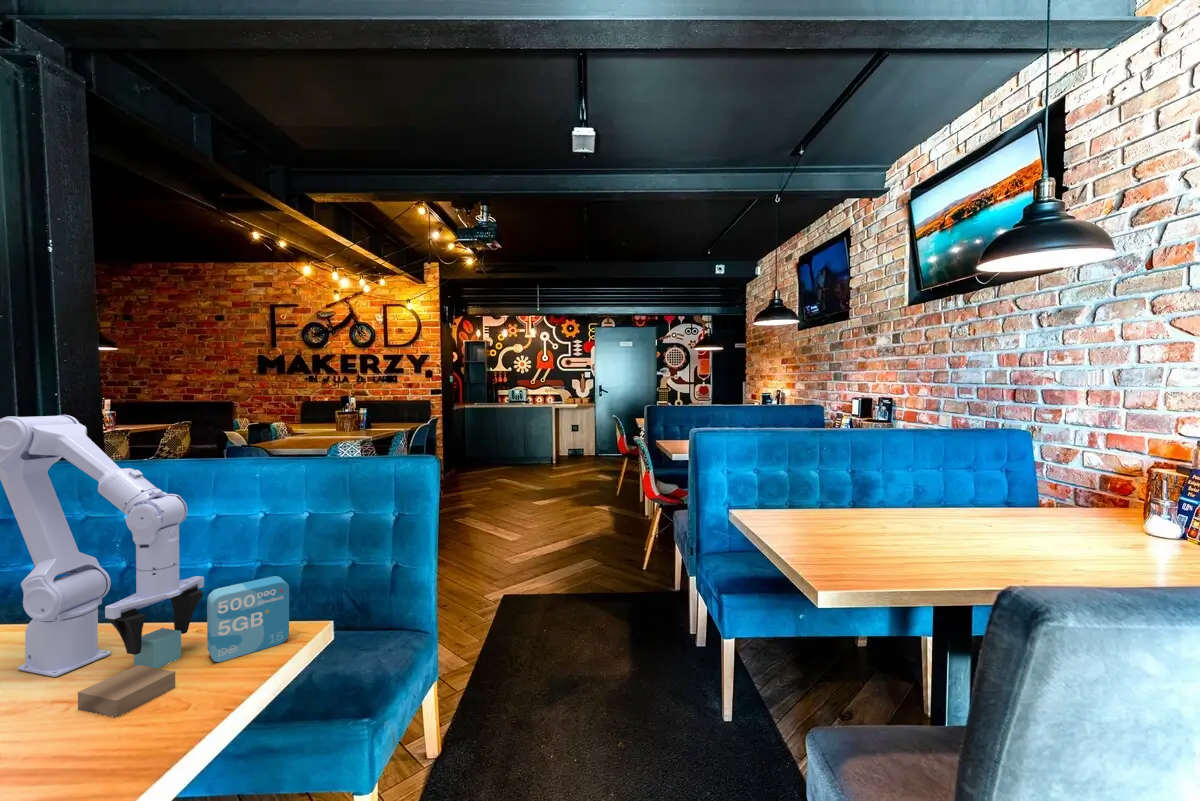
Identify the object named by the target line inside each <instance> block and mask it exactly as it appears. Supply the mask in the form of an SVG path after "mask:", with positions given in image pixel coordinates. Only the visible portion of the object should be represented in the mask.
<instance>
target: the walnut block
mask: <svg viewBox="0 0 1200 801" xmlns="http://www.w3.org/2000/svg"><path fill="white" fill-rule="evenodd" d="M175 688H176V671H174V670H169V669H162V668H153V667H148V666H143V665H137V666H135V667H134V666H133V667H131V668H129V669H126V670H123V671H121V672H120V673H118V674H115V675H113V676H111V677H109V678H106V679H103V680H102V681H100V682H97V683H94V684H92V685H91V686H89V687H86V688H84V689H82V690H80V691H78V692H77V710H78V711H80V712H81V711H82V712H86V713H91V712H92V713H91V714H95V713H97V714H96V715H100V714H101V716H104V715H106V716H105V717H109V716H113V717H118V718H120V717H121V715H122V714H124V715H126V714H128V713H130V712H131V710H132V711H134V710H135V709H137V708H139V707H141V706H143V705H145V704H147V703H149V702H151V701H152V700H155V699H157V698H159V697H160V696H162V695H164V694H166V693H167V692H170V691H172V690H174V689H175ZM127 712H128V713H127ZM125 713H126V714H125ZM107 715H108V716H107ZM119 716H120V717H119ZM122 716H123V715H122ZM113 717H112V718H113Z"/></svg>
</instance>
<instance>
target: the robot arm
mask: <svg viewBox="0 0 1200 801" xmlns="http://www.w3.org/2000/svg"><path fill="white" fill-rule="evenodd" d="M62 458H63V459H65V460H66V461H68V462H69V463H70V464H72V465H74V466H75V467H77V468H78V469H79V470H81V471H83V472H84V473H85V474H87V475H88V476H90V477H91V478H92V479H94V480H96V481H97V482H98V485H97V492H98V493H99V494H100V495H101V496H102V497H103V498H105V499H106V500H107V501H109V502H110V503H111V504H112V505H114V506H115V507H116V508H117V509H119V510H120V511H121V512H122V513H123V514H124V515H126V516H127V517H125V523H126V526H127V528H128V530H129V531H131V534H132V542H133V543H134V544H135V571H136V572H135V573H136V574H135V578H136V579H135V580H136V581H135V582H136V583H135V584H136V586H135V587H136V588H135V591H136V592H135V593H132V594H131V595H129V596H127V597H125V598H123V599H120V600H119V601H115V602H114V603H112V604H108V605H106V606H105V607H104V614H105V615H104V616H105V617H104V618H105V619H107V620H108V621H109V623H110V624H111V625H112V626H113V627H114V628H115V630H116V631H117V632H118V634H119V636H120V638H121V640H122V642H123V644H124V647H125V650H126V654H127V655H128V654H129V655H133V656H134V655H136V654H139V653H140V652H141V646H142V636H143V629H144V624H145V622H146V621H145V620H146V618H147V615H146V614H144V613H143V614H141V613H140V611H138V610H140V609H143V608H145V607H148V606H151V605H153V604H156V603H159V602H162V601H165V600H167V599H170V603H171V607H172V612H173V626H174V627H173V630H179V631H181V635H184V634H187V633H188V631H189V628H190V623H191V621H192V618H193V614H194V612H195V610H196V608H197V606H198V604H199V602H200V601H201V599H202V598H203V597H204V591H203V590H200V589H201V588H204V587H205V576H199V575H196V576H191V577H188V578H185V579H180V524H181V523H184V521H185V520H186V518H187V516H188V506H187V503H186V502H185V500H184V499H183V498H182V497H181V496H180V495H179V494H175V493H167V492H165V491H162V489H160V488H158V487H156V486H155V485H154V484H153V483H152V482H150V481H149V480H148V479H146V477H144V476H143V475H144V474H143V472H141V470H139V469H134V468H130V467H127V468H126V467H125V468H121V467H120V466H118V464H117V463H116V462H114V461H113V460H112V459H111V458H110V456H108V454H106V453H105V452H104V451H103V450H102V449H101V448H100V447H99V446H98V445H97V444H96V443H95V442H94V441H92V439H91V438H90V437H89V436H88V428H87V427H86V425H83V424H82V423H80V422H79V420H78V419H76V417H74V416H71V415H68V414H58V415H46V416H44V415H43V416H41V415H40V416H12V415H11V416H9V415H8V416H5V417H2V418H0V482H1V485H2V486H3V489H4V492H5V494H6V498H7V499H8V502H9V504H10V507H11V509H12V511H13V515H14V517H15V519H16V521H17V525H18V527H19V530H20V532H21V534H22V537H23V539H24V543H25V545H26V546H27V550H28V552H29V556H31V560H32V562H33V564H34V568H33V569H32V571H30V573H29V574H27V576H26V577H25V578H24V579H23V580H22V581H21V582H20V586H21V589H22V592H23V597H22V598H23V599H22V607H23V609H24V611H25V613H26V614H27V616H29V617H30V618H31V620H30V621H29V623H28V625H27V627H26V628H25V633H24V635H25V636H24V637H25V638H24V647H25V648H24V651H25V652H24V656H25V657H24V658H25V659H24V663H23V664H21V665H19V666H18V667H17V670H19V671H22V672H29V673H33V674H39V675H45V676H49V677H55V678H56V677H59V676H61V675H64V674H67V673H69V672H71V671H74V670H76V669H78V668H80V667H83V666H85V665H88V664H90V663H93V662H96V661H97V660H100V659H103V658H106V657H107V656H109V655H111V654H112V651H110V650H105V649H101V648H100V649H99V646H98V644H99V639H98V638H99V637H98V636H99V633H98V632H99V630H98V629H99V618H98V617H99V607H98V606H99V605H102V603H103V601H102V600H103V598H104V597H105V596H107V595H108V593H109V591H110V589H111V585H112V582H111V577H110V575H109V573H108V572H107V571H106V570H105V569H104V568H103V567H102V566H101V565H100V563H99V561H98V559H97V557H95V556H92V555H88V554H86V553H83V552H80V551H79V548H78V546H77V543H76V540H75V538H74V536H73V533H72V531H71V529H70V528H71V527H70V526H69V524H68V521H67V519H66V518H67V517H66V516H65V513H64V510H63V507H62V506H61V503H60V499H59V497H58V496H57V493H56V491H55V488H54V486H53V484H52V480H51V479H50V476H49V474H48V471H49V470H50V468H51V467H52V466H53V465H54V464H55V463H57V462H59V461H60V459H62ZM64 574H65V575H64ZM61 575H63V576H61ZM57 576H60V577H57ZM56 577H57V578H56Z"/></svg>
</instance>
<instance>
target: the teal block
mask: <svg viewBox="0 0 1200 801" xmlns="http://www.w3.org/2000/svg"><path fill="white" fill-rule="evenodd" d="M179 658H181V659H182V634H181V631H179V630H175V629H171V628H166V627H165V628H164V627H161V628H159V629H157V630H154V631H152V632H149V633H146V634H144V635H142V646H141V652H140V653H139V654H136V655H133V667H135V666H137V665H143V666H148V667H153V668H159V669H162V668H163V667H162V666H164V667H165V665H166V666H167V664H168V663H170V662H172V663H174V662H176V661H178V660H180V659H179ZM177 659H178V660H177ZM175 660H176V661H175ZM173 661H174V662H173ZM170 664H171V663H170ZM168 665H169V664H168ZM161 667H162V668H161Z"/></svg>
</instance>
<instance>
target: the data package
mask: <svg viewBox="0 0 1200 801" xmlns="http://www.w3.org/2000/svg"><path fill="white" fill-rule="evenodd" d="M206 601H207V602H206V605H207V606H206V607H207V608H206V613H207V614H206V617H207V618H206V622H207V628H206V632H207V633H206V639H207V640H206V642H207V643H206V645H207V647H206V648H207V651H208V653H209V655H210V658H211V659H212V661H213V662H215V663H223V662H225V661H229V660H232V659H235V658H239V656H240V657H242V656H246V655H250V654H252V652H253V653H256V652H259V651H262V650H266V649H268V648H272V647H276V646H279V645H282V644H283V643H284V642H286V641H287V639H288V638H289V635H290V586H289V583H287V581H286V580H284V579H283V578H282V577H280V576H277V575H275V576H268V577H264V578H259V579H255V580H251V581H245V582H241V583H236V584H232V585H228V586H223V587H219V588H215V589H213V590H212V591H211V592H210V593H209V594H208V596H207V600H206Z"/></svg>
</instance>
